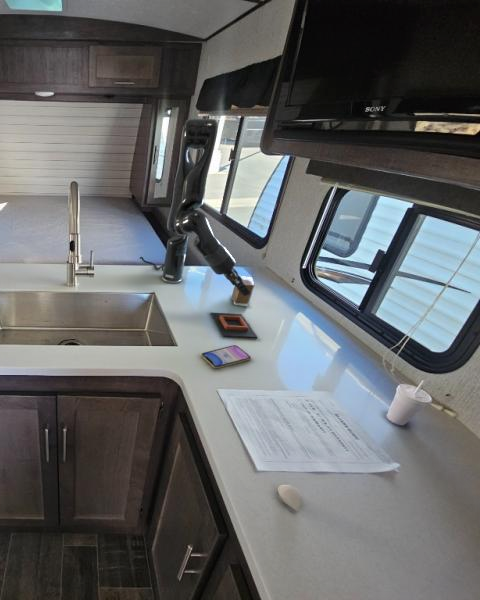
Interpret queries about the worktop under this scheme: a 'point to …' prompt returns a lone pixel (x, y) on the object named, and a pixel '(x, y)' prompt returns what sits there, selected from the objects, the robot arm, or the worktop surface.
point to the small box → (251, 292)
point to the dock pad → (233, 325)
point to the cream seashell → (290, 496)
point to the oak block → (239, 297)
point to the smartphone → (225, 356)
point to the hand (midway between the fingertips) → (244, 290)
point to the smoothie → (407, 403)
